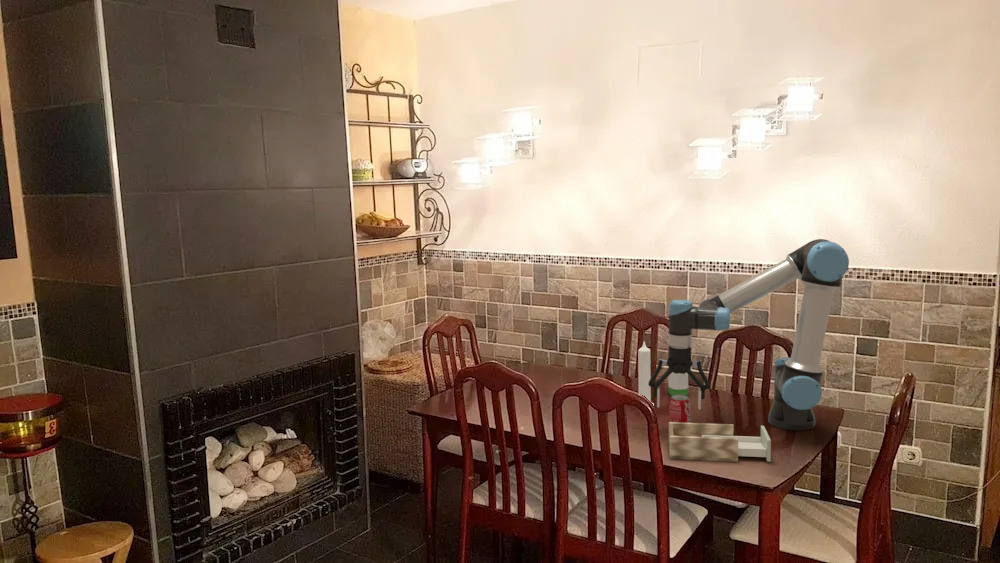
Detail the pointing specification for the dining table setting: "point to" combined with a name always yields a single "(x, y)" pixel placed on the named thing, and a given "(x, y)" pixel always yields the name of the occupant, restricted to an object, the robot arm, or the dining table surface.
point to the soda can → (680, 409)
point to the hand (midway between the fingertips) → (678, 407)
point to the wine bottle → (678, 384)
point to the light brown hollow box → (702, 442)
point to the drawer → (752, 445)
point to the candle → (644, 372)
